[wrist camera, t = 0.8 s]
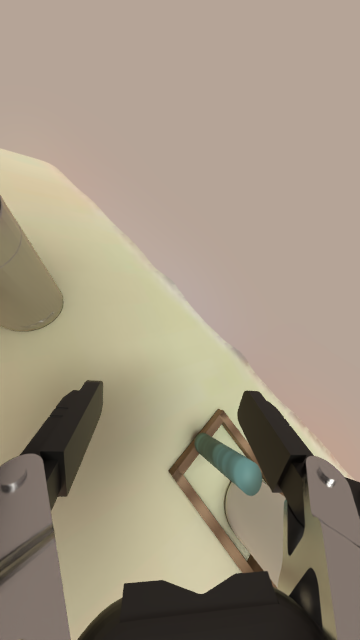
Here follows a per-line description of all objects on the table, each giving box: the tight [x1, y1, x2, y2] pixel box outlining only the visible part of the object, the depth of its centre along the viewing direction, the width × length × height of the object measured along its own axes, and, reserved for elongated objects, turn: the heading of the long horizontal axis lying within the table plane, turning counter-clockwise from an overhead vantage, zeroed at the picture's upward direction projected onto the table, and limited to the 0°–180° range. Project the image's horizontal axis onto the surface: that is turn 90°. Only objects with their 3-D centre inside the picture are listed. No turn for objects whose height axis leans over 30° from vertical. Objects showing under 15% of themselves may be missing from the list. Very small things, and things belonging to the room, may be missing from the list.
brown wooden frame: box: [169, 409, 285, 588], centre depth 23 cm, size 20×12×13 cm, turn 41°
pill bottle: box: [225, 482, 286, 587], centre depth 21 cm, size 8×8×15 cm
